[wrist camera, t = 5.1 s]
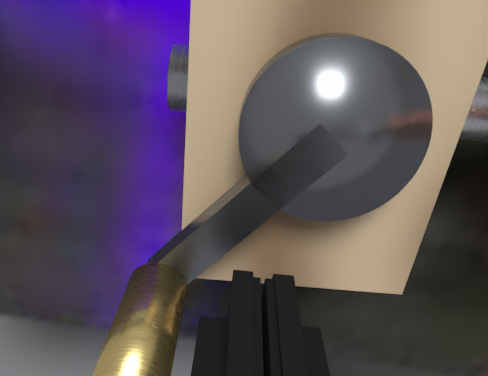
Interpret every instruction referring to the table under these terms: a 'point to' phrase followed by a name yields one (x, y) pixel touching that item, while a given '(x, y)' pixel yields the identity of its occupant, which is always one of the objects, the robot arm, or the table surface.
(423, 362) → the table surface
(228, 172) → the beige block
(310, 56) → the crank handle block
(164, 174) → the table surface
